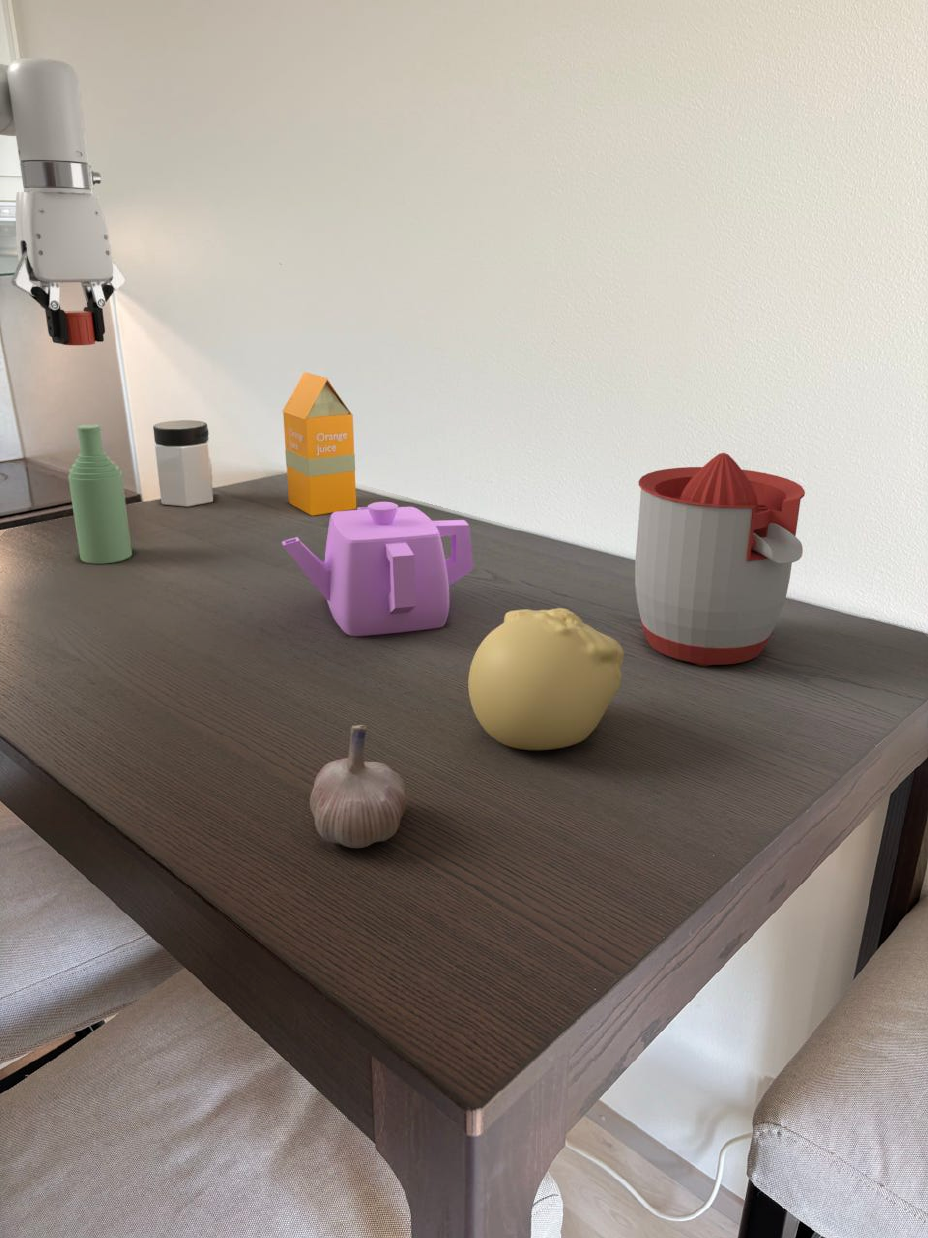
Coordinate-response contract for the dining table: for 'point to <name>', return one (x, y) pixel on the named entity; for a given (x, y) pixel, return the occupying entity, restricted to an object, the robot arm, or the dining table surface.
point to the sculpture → (543, 679)
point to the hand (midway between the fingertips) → (78, 340)
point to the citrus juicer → (714, 559)
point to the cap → (80, 328)
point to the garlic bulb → (357, 798)
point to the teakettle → (386, 568)
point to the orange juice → (319, 448)
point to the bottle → (98, 502)
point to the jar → (183, 462)
